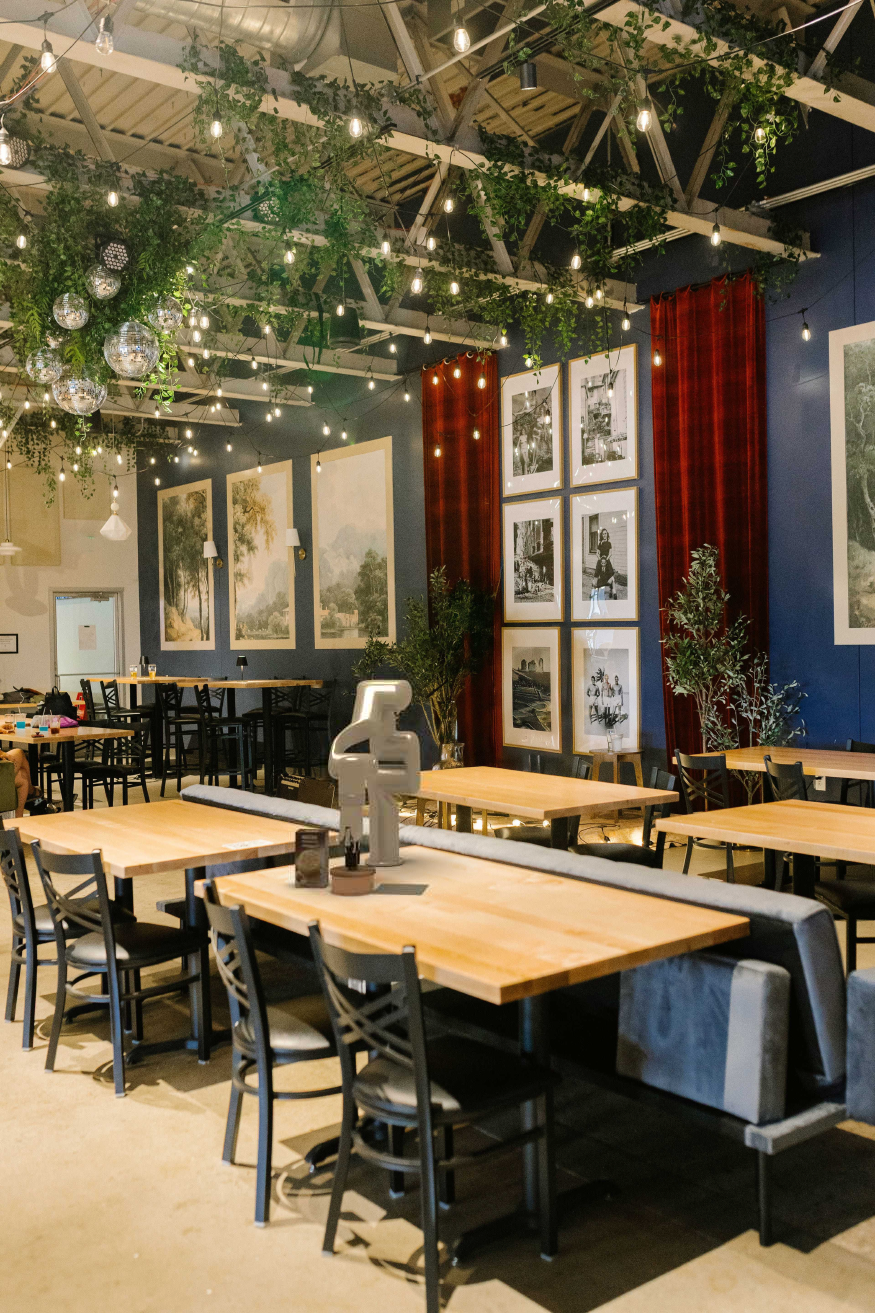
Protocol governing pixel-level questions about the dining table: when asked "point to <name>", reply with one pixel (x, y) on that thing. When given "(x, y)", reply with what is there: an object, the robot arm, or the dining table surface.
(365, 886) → the bowl
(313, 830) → the coffee box
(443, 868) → the dining table surface
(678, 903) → the dining table surface
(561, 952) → the dining table surface
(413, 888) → the mat
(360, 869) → the lid
